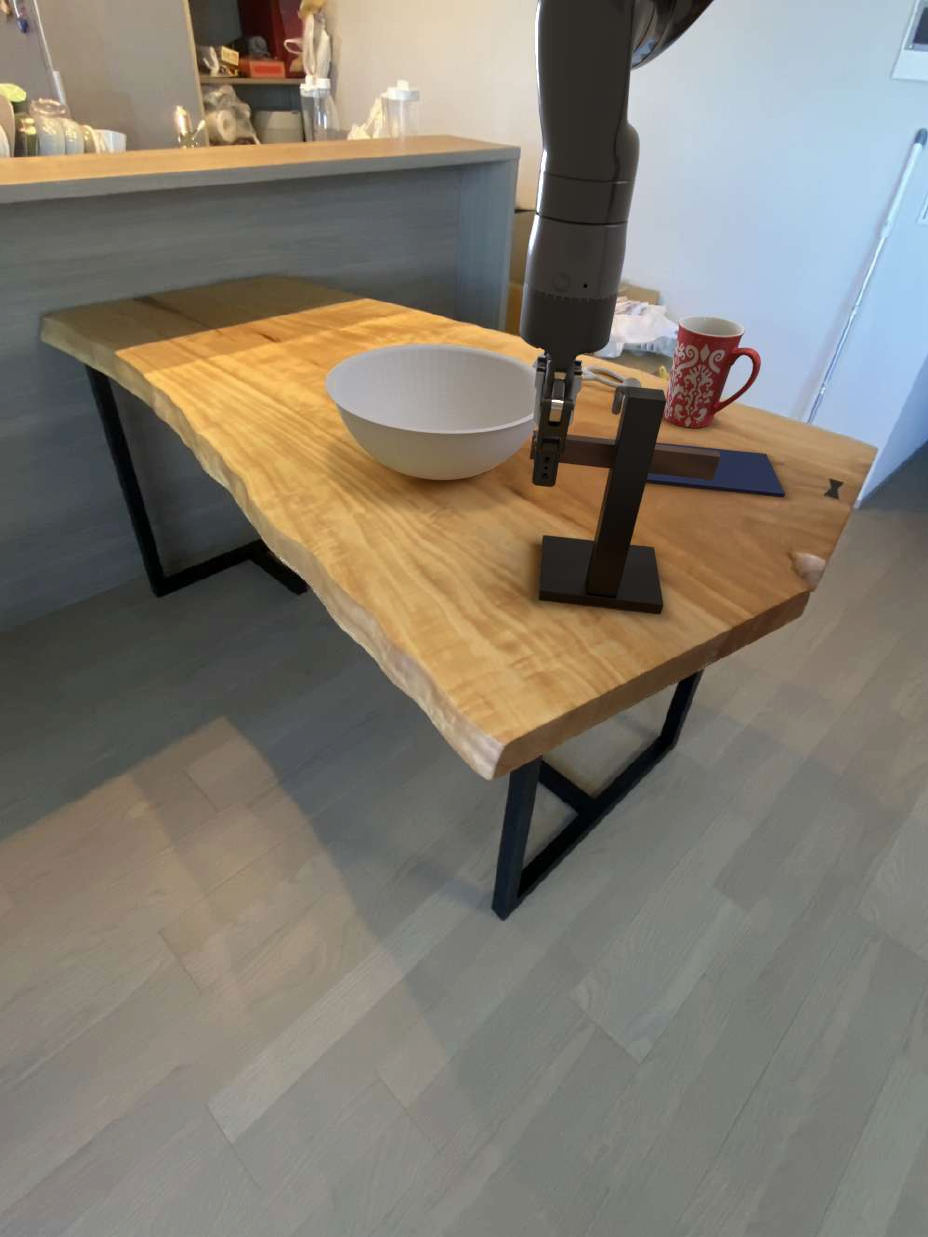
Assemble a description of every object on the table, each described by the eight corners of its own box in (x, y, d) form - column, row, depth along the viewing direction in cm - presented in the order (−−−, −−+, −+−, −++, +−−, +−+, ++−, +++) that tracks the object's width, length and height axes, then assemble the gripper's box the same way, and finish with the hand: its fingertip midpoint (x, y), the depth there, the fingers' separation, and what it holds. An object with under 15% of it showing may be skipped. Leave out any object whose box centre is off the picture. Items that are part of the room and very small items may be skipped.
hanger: (710, 474, 64) (736, 395, 59) (712, 480, 63) (739, 401, 59) (529, 453, 65) (540, 374, 60) (529, 459, 64) (540, 379, 59)
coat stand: (651, 553, 75) (705, 360, 62) (660, 614, 67) (725, 408, 54) (541, 541, 76) (571, 347, 62) (538, 600, 68) (571, 392, 54)
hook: (506, 386, 107) (596, 383, 118) (543, 408, 102) (635, 403, 112) (516, 337, 103) (609, 339, 114) (556, 358, 97) (650, 358, 108)
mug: (644, 415, 103) (666, 322, 94) (675, 400, 108) (699, 310, 99) (720, 446, 97) (751, 348, 88) (750, 428, 102) (782, 334, 93)
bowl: (378, 535, 75) (375, 450, 69) (303, 430, 93) (296, 356, 87) (584, 488, 85) (599, 411, 79) (481, 403, 103) (486, 334, 97)
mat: (765, 456, 95) (766, 453, 94) (784, 497, 86) (785, 493, 86) (619, 441, 96) (620, 438, 96) (624, 480, 88) (624, 476, 87)
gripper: (624, 310, 49) (584, 518, 60) (615, 262, 60) (582, 446, 71) (520, 301, 49) (498, 508, 61) (528, 254, 60) (509, 438, 71)
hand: (543, 474), depth 66 cm, fingers open, 3 cm apart
